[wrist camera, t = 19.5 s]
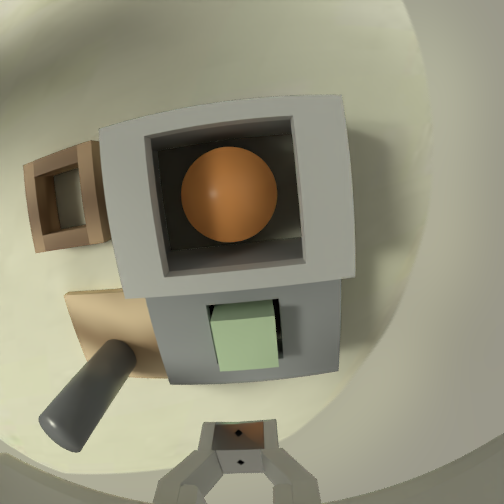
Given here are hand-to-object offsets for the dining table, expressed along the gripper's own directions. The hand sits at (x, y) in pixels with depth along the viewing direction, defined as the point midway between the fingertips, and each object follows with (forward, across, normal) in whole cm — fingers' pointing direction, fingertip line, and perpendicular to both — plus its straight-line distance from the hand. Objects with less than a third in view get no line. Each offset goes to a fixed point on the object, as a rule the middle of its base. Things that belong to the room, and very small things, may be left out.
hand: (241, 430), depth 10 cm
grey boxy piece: (+11, 0, -4) cm, 12 cm away
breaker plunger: (+10, 0, -9) cm, 14 cm away
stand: (+11, +12, -10) cm, 19 cm away
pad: (+11, +11, +1) cm, 16 cm away
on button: (+9, 0, 0) cm, 9 cm away
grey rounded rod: (+10, +11, +3) cm, 15 cm away
